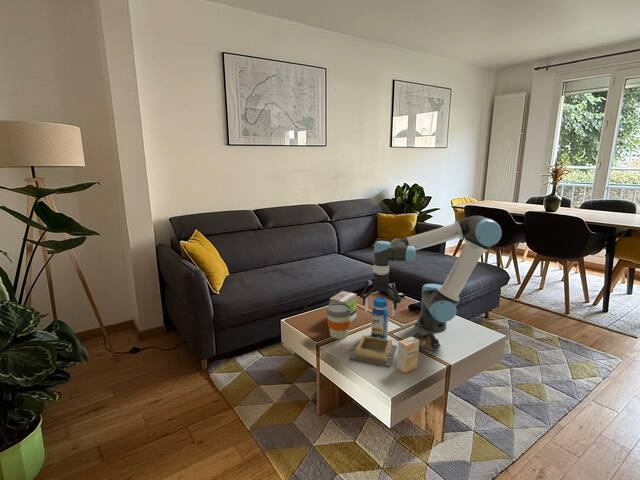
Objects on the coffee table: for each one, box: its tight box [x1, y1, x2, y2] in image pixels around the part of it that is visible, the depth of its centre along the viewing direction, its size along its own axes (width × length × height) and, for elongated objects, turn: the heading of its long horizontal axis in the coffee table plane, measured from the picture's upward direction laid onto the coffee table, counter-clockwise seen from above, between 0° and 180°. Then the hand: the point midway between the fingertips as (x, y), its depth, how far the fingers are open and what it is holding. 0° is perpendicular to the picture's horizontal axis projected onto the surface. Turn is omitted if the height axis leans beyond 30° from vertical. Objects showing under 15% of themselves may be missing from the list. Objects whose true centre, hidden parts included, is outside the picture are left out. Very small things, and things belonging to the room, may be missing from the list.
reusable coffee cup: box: [326, 303, 352, 340], centre depth 182 cm, size 13×13×15 cm
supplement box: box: [396, 336, 420, 374], centre depth 152 cm, size 8×5×13 cm, turn 126°
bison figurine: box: [411, 331, 442, 351], centre depth 170 cm, size 12×7×10 cm
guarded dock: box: [349, 335, 398, 368], centre depth 165 cm, size 18×18×4 cm
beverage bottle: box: [370, 297, 389, 339], centre depth 179 cm, size 8×8×20 cm
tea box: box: [329, 290, 358, 323], centre depth 199 cm, size 15×10×15 cm, turn 148°
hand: (379, 313), depth 179 cm, fingers open, 13 cm apart
